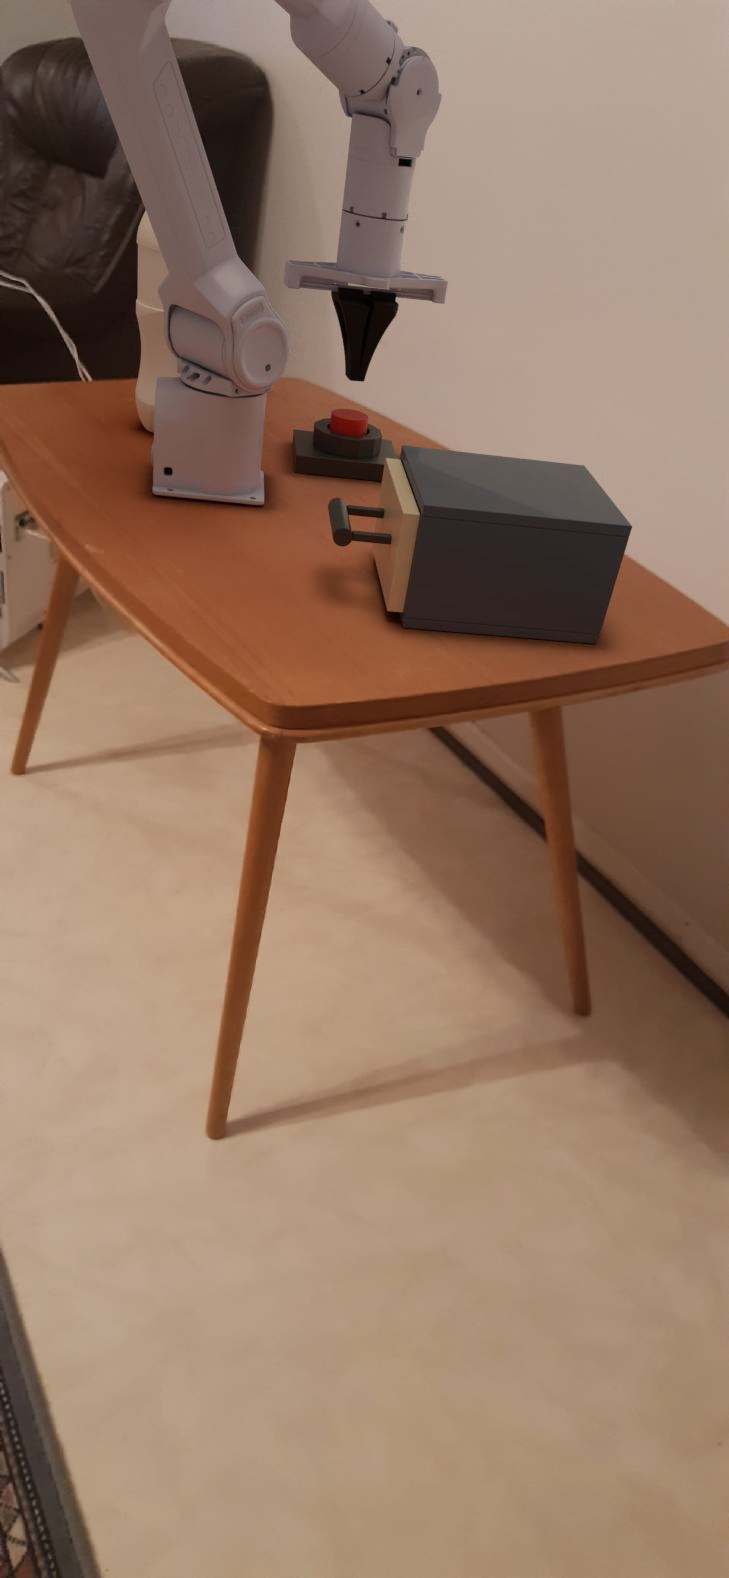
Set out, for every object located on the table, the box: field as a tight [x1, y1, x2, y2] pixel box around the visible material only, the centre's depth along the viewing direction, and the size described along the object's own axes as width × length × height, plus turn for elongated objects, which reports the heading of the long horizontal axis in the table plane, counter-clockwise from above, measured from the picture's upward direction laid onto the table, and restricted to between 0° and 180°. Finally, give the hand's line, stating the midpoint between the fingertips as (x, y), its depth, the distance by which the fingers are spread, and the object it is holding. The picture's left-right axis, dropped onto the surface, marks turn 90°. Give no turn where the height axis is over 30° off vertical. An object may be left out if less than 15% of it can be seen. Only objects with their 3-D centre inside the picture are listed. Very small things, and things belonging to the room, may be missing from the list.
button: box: [330, 408, 370, 436], centre depth 99 cm, size 4×4×2 cm
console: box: [291, 417, 399, 483], centre depth 100 cm, size 10×8×4 cm
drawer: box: [327, 458, 421, 613], centre depth 76 cm, size 18×11×7 cm, turn 95°
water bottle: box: [134, 209, 181, 434], centre depth 95 cm, size 7×7×25 cm
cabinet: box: [398, 444, 633, 645], centre depth 77 cm, size 15×13×9 cm
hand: (354, 378), depth 96 cm, fingers closed
